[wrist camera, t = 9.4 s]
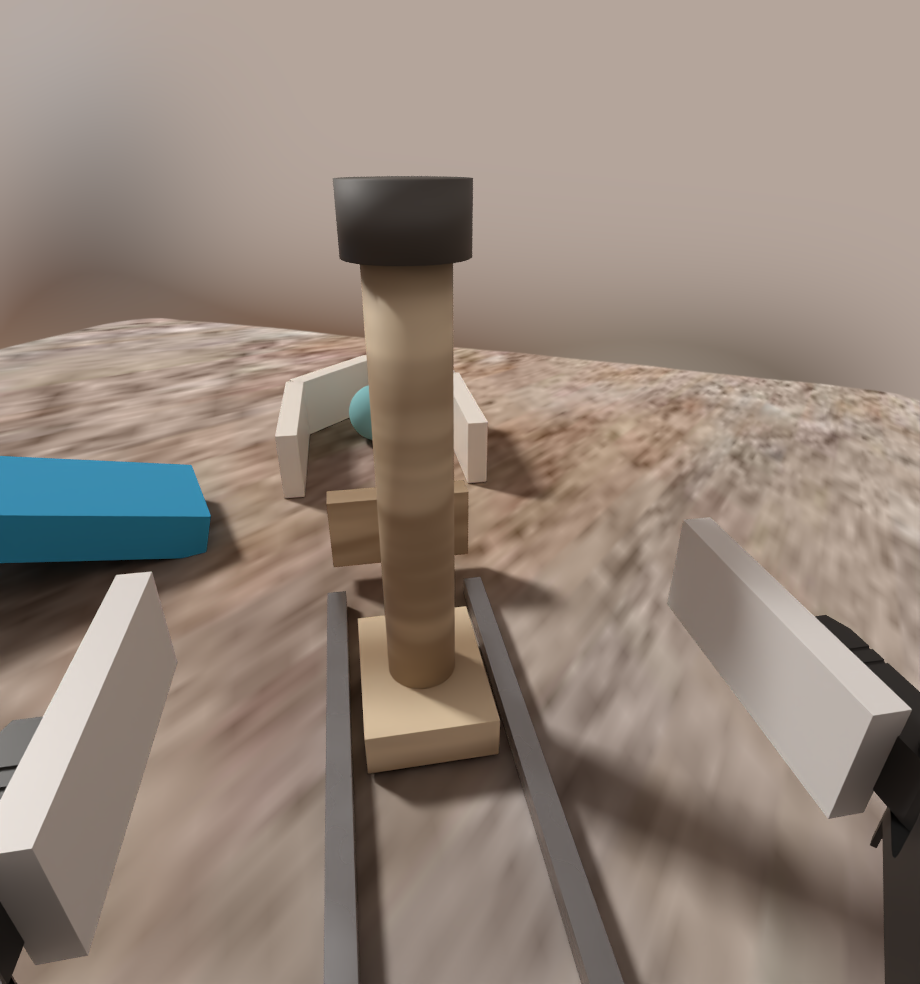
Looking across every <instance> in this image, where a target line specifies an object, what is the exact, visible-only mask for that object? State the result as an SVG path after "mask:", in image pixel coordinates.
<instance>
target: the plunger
mask: <svg viewBox="0 0 920 984" xmlns="http://www.w3.org/2000/svg"><path fill="white" fill-rule="evenodd" d="M333 186H334V198H335V209H336V221H337V233H338V245H339V257H340V259H341V260H343V261H345V262H349V263H355V264H360V270H361V271H360V272H361V285H362V300H363V313H364V328H365V342H366V356H367V370H368V384H369V398H370V412H371V426H372V440H373V454H374V468H375V482H376V487H374V488H362V489H350V490H338V491H327V501H326V504H327V513H328V522H329V530H330V539H331V548H332V557H333V565H334V567H342V566H352V565H362V564H372V563H381V566H382V580H383V594H384V608H385V616H376V617H367V618H358V631H359V649H360V667H361V685H362V702H363V720H364V738H365V749H366V758H367V768H368V774H369V773H376V772H382V771H389V770H395V769H402V768H409V767H415V766H422V765H428V764H435V763H441V762H448V761H455V760H461V759H468V758H474V757H481V756H487V755H494V754H499V735H500V718H499V715H498V711H497V708H496V705H495V701H494V698H493V695H492V691H491V688H490V685H489V681H488V678H487V675H486V671H485V668H484V665H483V661H482V658H481V655H480V651H479V648H478V644H477V641H476V638H475V634H474V631H473V628H472V624H471V621H470V618H469V614H468V611H467V608H466V606H464V607H455V581H454V555H461V554H468V490H467V487H466V485H465V482H464V480H460V481H454V384H453V263H456V262H462V261H466V260H468V259H470V258H472V210H473V208H472V207H473V178H466V177H429V176H411V177H410V176H391V177H390V176H387V177H346V178H333Z"/></svg>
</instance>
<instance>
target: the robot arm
mask: <svg viewBox="0 0 920 984" xmlns="http://www.w3.org/2000/svg"><path fill="white" fill-rule="evenodd" d="M667 604H668V606H669V607H670V608H671V610H672V611H673V612H674V614H675V615H676V616H677V618H678V619H679V620H680V622H681V623H682V624H683V626H684V627H685V628H686V630H687V631H688V632H689V634H690V635H691V636H692V638H693V639H694V640H695V642H696V643H697V644H698V646H699V647H700V648H701V650H702V651H703V652H704V654H705V655H706V656H707V658H708V659H709V660H710V662H711V663H712V664H713V666H714V667H715V668H716V670H717V671H718V672H719V674H720V675H721V676H722V678H723V679H724V680H725V682H726V683H727V684H728V686H729V687H730V688H731V690H732V691H733V692H734V694H735V695H736V696H737V698H738V699H739V700H740V702H741V703H742V704H743V706H744V707H745V708H746V710H747V711H748V712H749V714H750V715H751V717H752V718H753V719H754V721H755V722H756V723H757V725H758V726H759V727H760V729H761V730H762V731H763V733H764V734H765V735H766V737H767V738H768V739H769V741H770V742H771V743H772V745H773V746H774V747H775V749H776V750H777V751H778V753H779V754H780V755H781V757H782V758H783V759H784V761H785V762H786V763H787V765H788V766H789V767H790V769H791V770H792V771H793V773H794V774H795V775H796V777H797V778H798V779H799V781H800V782H801V783H802V785H803V786H804V787H805V789H806V790H807V791H808V793H809V794H810V795H811V797H812V798H813V799H814V801H815V802H816V803H817V805H818V806H819V807H820V809H821V810H822V811H823V813H824V814H825V815H826V817H827V818H828V819H830V818H836V817H841V816H846V815H852V814H857V813H863V812H864V811H865V808H866V806H867V804H868V802H869V800H870V798H871V796H872V794H873V791H875V793H876V794H877V795H878V796H879V797H880V799H881V800H882V801H883V802H884V803H885V804H886V806H887V809H886V811H885V813H884V815H883V817H882V819H881V821H880V823H879V825H878V827H877V829H876V831H875V833H874V835H873V837H872V840H871V843H870V846H873V847H875V848H877V846H878V844H879V842H880V840H881V839H883V891H884V956H885V984H920V692H919V691H918V690H917V689H916V688H915V687H914V686H913V685H912V684H910V683H909V682H908V681H907V680H906V679H905V678H904V677H903V676H902V675H901V674H899V673H898V672H897V671H896V670H895V669H894V668H893V667H892V666H891V665H890V664H888V663H885V662H884V659H883V658H882V657H881V656H880V655H879V654H877V653H876V652H875V651H874V650H873V649H869V645H868V644H867V643H865V642H864V641H863V640H862V639H861V638H860V637H859V636H858V635H857V634H856V633H854V632H853V631H852V630H851V629H850V628H848V627H846V626H844V625H843V624H841V623H839V622H837V621H836V620H834V619H832V618H830V617H829V616H827V615H822V616H814V615H812V614H811V613H810V612H809V611H808V610H807V609H806V608H805V607H804V606H803V605H802V604H801V603H800V602H799V601H798V600H797V599H796V598H795V597H794V596H793V595H791V594H790V593H789V592H788V591H787V590H786V589H785V588H784V587H783V586H782V585H781V584H780V583H779V582H778V581H777V580H776V579H775V578H774V577H773V576H772V575H770V574H769V573H768V572H767V571H766V570H765V569H764V568H763V567H762V566H761V565H760V564H759V563H758V562H757V561H756V560H755V559H754V558H753V557H752V556H751V555H750V554H748V553H747V552H746V551H745V550H744V549H743V548H742V547H741V546H740V545H739V544H738V543H737V542H736V541H735V540H734V539H733V538H732V537H731V536H730V535H729V534H727V533H726V532H725V531H724V530H723V529H722V528H721V527H720V526H719V525H718V524H717V523H716V522H715V521H714V520H713V519H712V518H711V517H708V518H697V519H687V520H683V525H682V530H681V535H680V540H679V545H678V550H677V556H676V561H675V566H674V571H673V576H672V581H671V586H670V591H669V597H668V602H667ZM176 665H177V659H176V655H175V652H174V648H173V645H172V641H171V637H170V634H169V630H168V627H167V623H166V620H165V616H164V613H163V609H162V605H161V602H160V598H159V595H158V591H157V588H156V584H155V580H154V577H153V573H152V572H142V573H132V574H121V575H116V576H115V578H114V580H113V582H112V584H111V586H110V588H109V590H108V592H107V594H106V596H105V598H104V600H103V602H102V604H101V606H100V608H99V609H98V611H97V613H96V615H95V617H94V619H93V621H92V623H91V625H90V627H89V629H88V631H87V633H86V635H85V637H84V639H83V640H82V642H81V644H80V646H79V648H78V650H77V652H76V654H75V656H74V658H73V660H72V662H71V664H70V666H69V668H68V670H67V672H66V673H65V675H64V677H63V679H62V681H61V683H60V685H59V687H58V689H57V691H56V693H55V695H54V697H53V699H52V701H51V703H50V704H49V706H48V708H47V710H46V712H45V714H44V716H43V717H36V718H28V719H20V720H13V721H11V722H10V723H9V724H8V725H7V726H6V727H5V728H4V729H3V730H2V731H1V732H0V984H17V983H16V981H15V980H14V978H13V976H12V974H13V971H14V968H15V966H16V963H17V961H18V958H19V956H20V953H21V951H22V948H23V946H24V948H25V949H26V951H27V953H28V954H29V956H30V958H31V959H32V961H33V962H34V964H35V965H39V964H44V963H50V962H55V961H60V960H66V959H71V958H77V957H82V956H87V955H88V953H89V950H90V947H91V944H92V940H93V937H94V934H95V930H96V927H97V924H98V921H99V917H100V914H101V911H102V908H103V904H104V901H105V898H106V894H107V891H108V888H109V885H110V881H111V878H112V875H113V872H114V868H115V865H116V862H117V858H118V855H119V852H120V849H121V845H122V842H123V839H124V836H125V832H126V829H127V826H128V822H129V819H130V816H131V813H132V809H133V806H134V803H135V800H136V796H137V793H138V790H139V786H140V783H141V780H142V777H143V773H144V770H145V767H146V764H147V760H148V757H149V754H150V750H151V747H152V744H153V741H154V737H155V734H156V731H157V728H158V724H159V721H160V718H161V714H162V711H163V708H164V705H165V701H166V698H167V695H168V692H169V688H170V685H171V682H172V678H173V675H174V672H175V669H176Z"/></svg>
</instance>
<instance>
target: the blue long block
mask: <svg viewBox="0 0 920 984" xmlns="http://www.w3.org/2000/svg"><path fill="white" fill-rule="evenodd" d="M210 518H211V515H210V512H209V510H208V507H207V505H206V502H205V499H204V497H203V494H202V491H201V489H200V486H199V483H198V481H197V478H196V476H195V473H194V470H193V468H192V466H191V465H180V464H159V463H137V462H116V461H95V460H73V459H52V458H31V457H9V456H0V563H25V562H62V561H100V560H137V559H174V558H185V557H189V556H193V555H197V554H201V553H205V552H206V551H207V543H208V535H209V527H210Z"/></svg>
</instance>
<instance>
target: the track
mask: <svg viewBox="0 0 920 984" xmlns="http://www.w3.org/2000/svg"><path fill="white" fill-rule="evenodd" d="M464 596H465V599H466V602H467V606H468V609H469V612H470V616H471V619H472V622H473V625H474V629H475V632H476V635H477V639H478V642H479V645H480V649H481V652H482V655H483V659H484V662H485V665H486V669H487V672H488V675H489V679H490V682H491V685H492V688H493V692H494V695H495V698H496V702H497V705H498V708H499V712H500V715H501V718H502V722H503V725H504V728H505V732H506V735H507V738H508V741H509V745H510V748H511V751H512V755H513V758H514V761H515V765H516V768H517V771H518V775H519V778H520V781H521V785H522V788H523V791H524V794H525V798H526V801H527V804H528V808H529V811H530V814H531V818H532V821H533V824H534V828H535V831H536V834H537V838H538V841H539V844H540V847H541V851H542V854H543V857H544V861H545V864H546V867H547V871H548V874H549V877H550V881H551V884H552V887H553V891H554V894H555V897H556V900H557V904H558V907H559V910H560V914H561V917H562V920H563V924H564V927H565V930H566V934H567V937H568V940H569V944H570V947H571V950H572V954H573V957H574V960H575V963H576V967H577V970H578V973H579V977H580V980H581V983H582V984H624V982H623V979H622V976H621V973H620V970H619V967H618V965H617V962H616V959H615V956H614V953H613V950H612V948H611V945H610V942H609V939H608V936H607V933H606V931H605V928H604V925H603V922H602V919H601V916H600V914H599V911H598V908H597V905H596V902H595V899H594V897H593V894H592V891H591V888H590V885H589V882H588V880H587V877H586V874H585V871H584V868H583V866H582V863H581V860H580V857H579V854H578V851H577V849H576V846H575V843H574V840H573V837H572V834H571V832H570V829H569V826H568V823H567V820H566V817H565V815H564V812H563V809H562V806H561V803H560V800H559V798H558V795H557V792H556V789H555V786H554V783H553V781H552V778H551V775H550V772H549V769H548V766H547V764H546V761H545V758H544V755H543V752H542V749H541V747H540V744H539V741H538V738H537V735H536V733H535V730H534V727H533V724H532V721H531V718H530V716H529V713H528V710H527V707H526V704H525V701H524V699H523V696H522V693H521V690H520V687H519V684H518V682H517V679H516V676H515V673H514V670H513V667H512V665H511V662H510V659H509V656H508V653H507V650H506V648H505V645H504V642H503V639H502V636H501V633H500V631H499V628H498V625H497V622H496V619H495V616H494V614H493V611H492V608H491V605H490V602H489V600H488V597H487V594H486V591H485V588H484V585H483V583H482V580H481V577H475V578H465V579H464ZM324 984H360V966H359V937H358V907H357V878H356V849H355V819H354V790H353V760H352V731H351V702H350V672H349V643H348V613H347V599H346V591H343V592H334V593H328V609H327V711H326V812H325V914H324Z"/></svg>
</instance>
